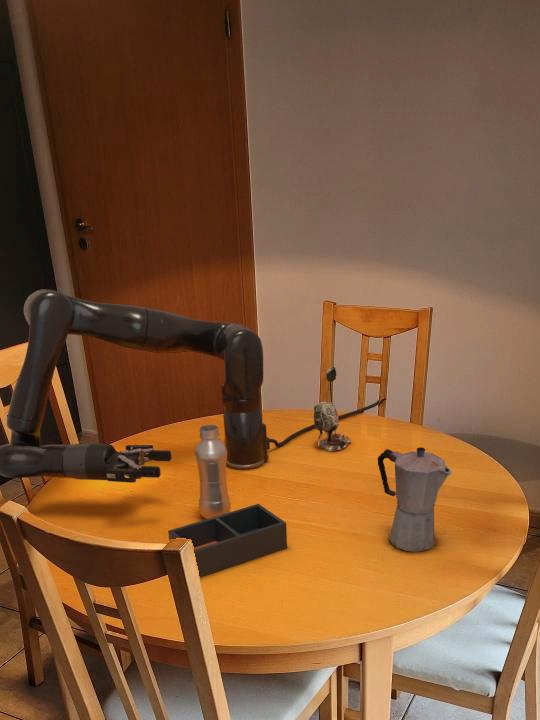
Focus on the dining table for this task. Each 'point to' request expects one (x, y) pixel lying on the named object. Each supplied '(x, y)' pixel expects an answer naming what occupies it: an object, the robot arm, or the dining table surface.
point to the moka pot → (414, 496)
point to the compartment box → (233, 538)
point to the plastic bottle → (212, 473)
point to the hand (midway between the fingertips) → (165, 463)
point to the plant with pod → (329, 420)
